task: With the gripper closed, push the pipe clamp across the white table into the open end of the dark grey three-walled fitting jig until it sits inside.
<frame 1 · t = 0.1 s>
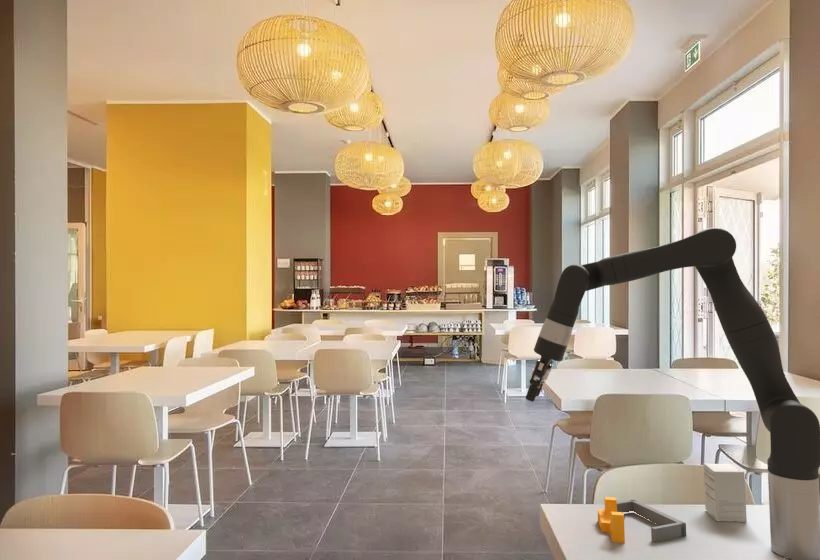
hand: (531, 397, 140), 31 cm above the table, tool tilted 20°, fingers open, 8 cm apart
supplement box: (725, 517, 140), on the table
fitting jig: (643, 525, 135), on the table
pipe clamp: (610, 533, 131), on the table
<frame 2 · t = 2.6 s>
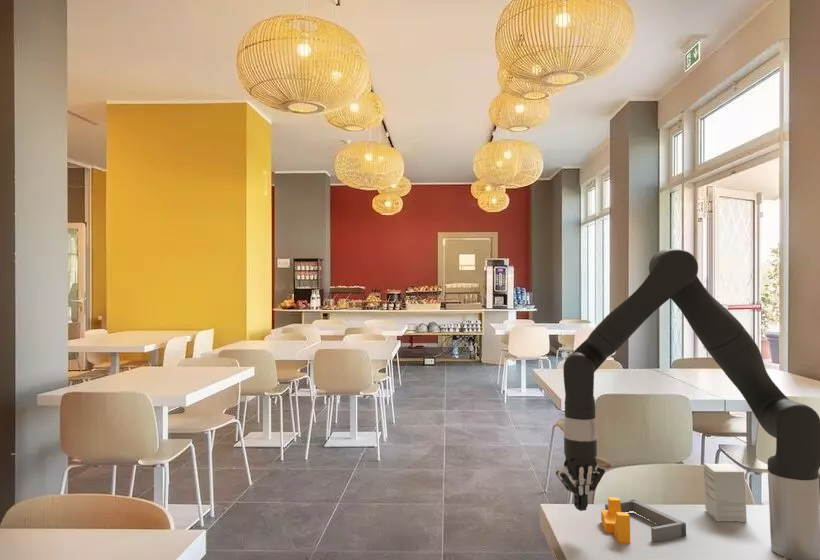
hand: (581, 509, 129), 6 cm above the table, tool pointing down, fingers closed
pipe clamp: (615, 533, 131), on the table
everything else where it was.
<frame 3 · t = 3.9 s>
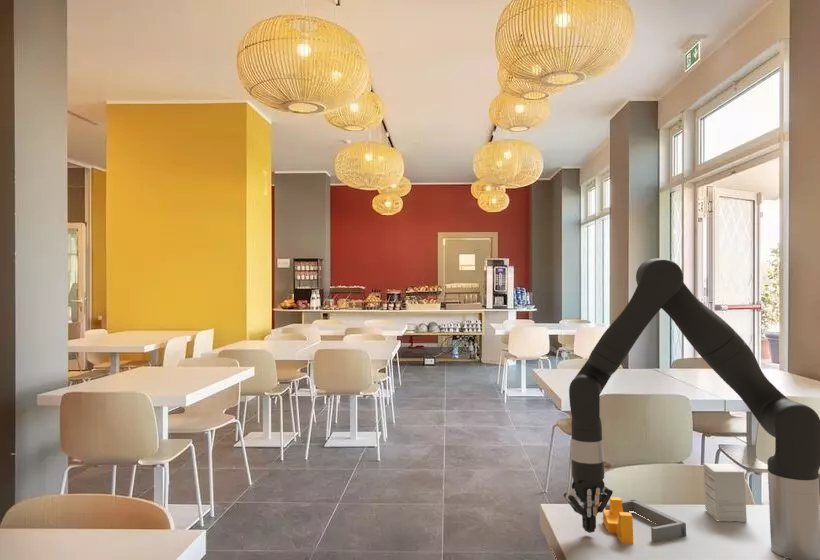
hand: (589, 531, 129), 1 cm above the table, tool pointing down, fingers closed
nothing on the table moved.
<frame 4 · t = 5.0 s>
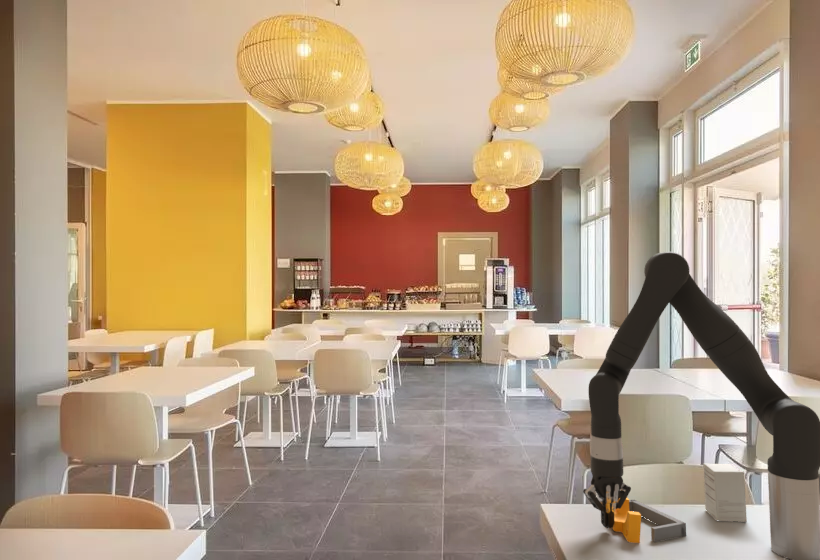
hand: (607, 526, 131), 1 cm above the table, tool pointing down, fingers closed
pipe clamp: (623, 532, 131), on the table, touching gripper
everything else where it was.
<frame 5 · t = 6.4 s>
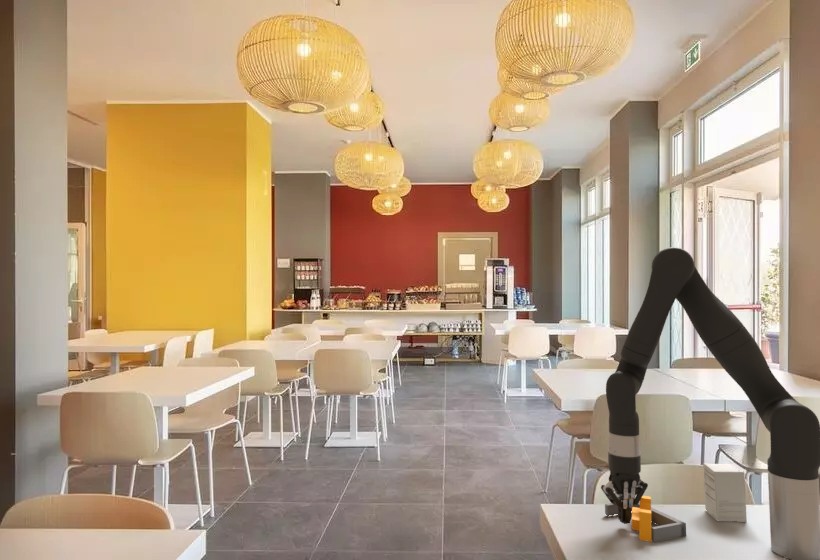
hand: (625, 522, 134), 1 cm above the table, tool pointing down, fingers closed
pipe clamp: (641, 530, 132), on the table, touching fitting jig, gripper, hand
everything else where it was.
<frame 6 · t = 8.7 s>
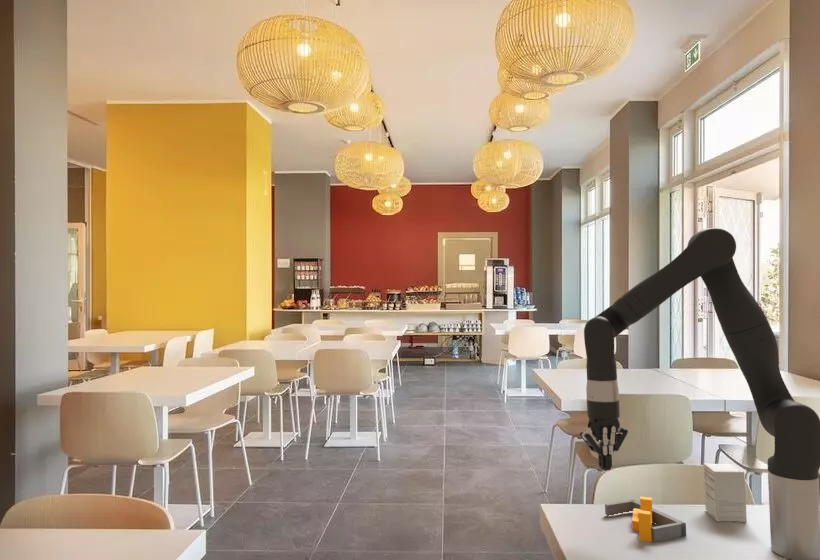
hand: (605, 469, 132), 15 cm above the table, tool pointing down, fingers closed
pipe clamp: (642, 532, 132), on the table
everything else where it was.
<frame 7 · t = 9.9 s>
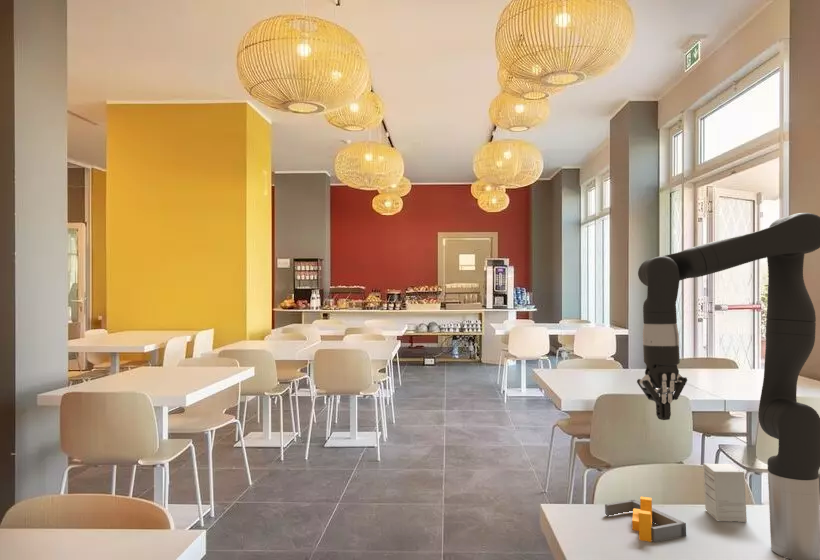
hand: (663, 419, 124), 29 cm above the table, tool pointing down, fingers closed
nothing on the table moved.
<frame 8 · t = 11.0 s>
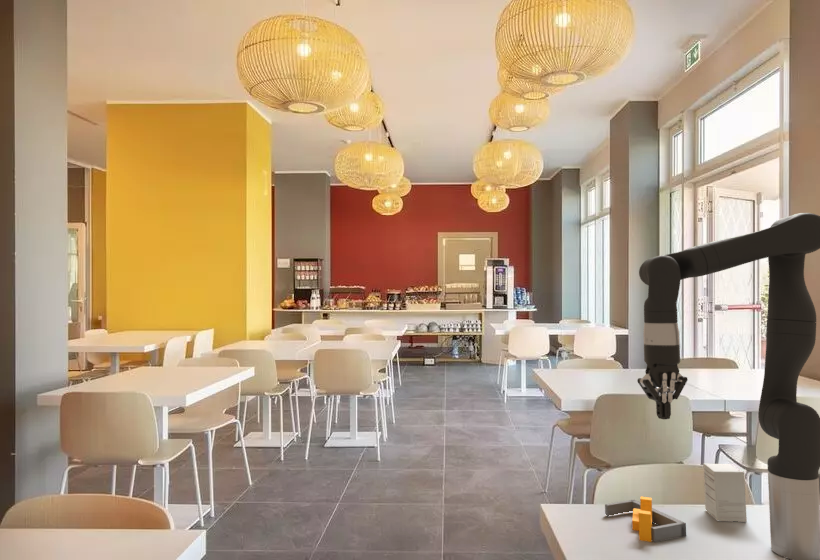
hand: (663, 418, 124), 29 cm above the table, tool pointing down, fingers closed
pipe clamp: (642, 532, 132), on the table, touching fitting jig
everything else where it was.
at the end: pipe clamp inside the target area on the fitting jig (2.8 cm from its centre), point 0.0 cm above the fitting jig's base; pipe clamp moved 8.0 cm from its start; the gripper is holding nothing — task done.
